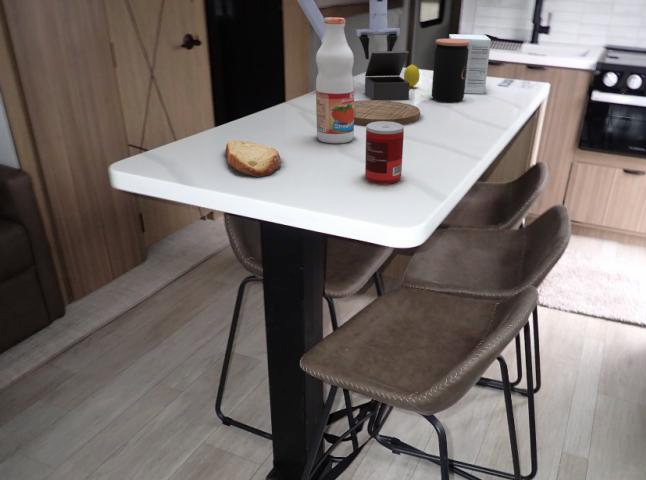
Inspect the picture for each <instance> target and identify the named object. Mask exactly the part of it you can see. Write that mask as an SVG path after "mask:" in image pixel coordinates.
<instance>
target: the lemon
mask: <svg viewBox="0 0 646 480" xmlns="http://www.w3.org/2000/svg"><path fill="white" fill-rule="evenodd" d="M420 75H421V74H420V70H419V68H418V66H417V65H414V64H413V63H411V64H410V65H408V66H407V67H406V68H405V70H404V73H403V79H404V80H406V81H408V82H409V89H410V88H411V89H412V88H414V86H416V85H417V84H418V83H419V81H420V77H421V76H420Z"/></svg>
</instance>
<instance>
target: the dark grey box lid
mask: <svg viewBox="0 0 646 480" xmlns="http://www.w3.org/2000/svg"><path fill="white" fill-rule="evenodd" d="M409 53H410V52H409V50H392V51H387V50H386V51H385V50H382V51H380V50H379V51H377V50H376V51H374V50H373V51H371V54H370V56H369V59H368V60H369V61H368V63H367V67H366V70H365V74H364V76H365V77H388V76H400V77H401V73H402V71H403V69H404V66H405V64H406V61H407V59H408V56H409Z"/></svg>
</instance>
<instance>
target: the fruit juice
mask: <svg viewBox="0 0 646 480" xmlns="http://www.w3.org/2000/svg"><path fill="white" fill-rule="evenodd" d="M324 25H325V27H326V31H325V36H324V40H323V43H322V42H321V45H320V47H319V48H318V50H317V52H316V55H315V64H316V68H317V75H316V79H315V101H316V102H315V106H316V108H315V111H316V113H315V114H316V115H315V116H316V137H317V140H319V141H320V142H322V143H327V144H346V143H349V142H351V141H353V140H354V135H355V124H354V101H355V79H354V75H353V69H354V68H353V67H354V64H355V55H354V53H353V51H352V49H351V47H350V46H349V43H348V41H347V38H346V33H345V27H346V18H344V17H335V16H334V17H333V16H331V17H329V16H328V17H324Z"/></svg>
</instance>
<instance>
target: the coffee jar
mask: <svg viewBox="0 0 646 480" xmlns="http://www.w3.org/2000/svg"><path fill="white" fill-rule="evenodd" d="M435 44H436V46H435V49H434V57H433V69H432V71H433V72H432V85H431V97H432V100H434V101H436V102H440V103H447V104H449V103H451V104H453V103H459V102H462V101H463V99H464V98H465V93H464V90H465V81H466V71H467V61H468V51H469V50H468V48H467V46H468V45H469V41H468V40H462V39H449V38H437V39H436V40H435Z"/></svg>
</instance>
